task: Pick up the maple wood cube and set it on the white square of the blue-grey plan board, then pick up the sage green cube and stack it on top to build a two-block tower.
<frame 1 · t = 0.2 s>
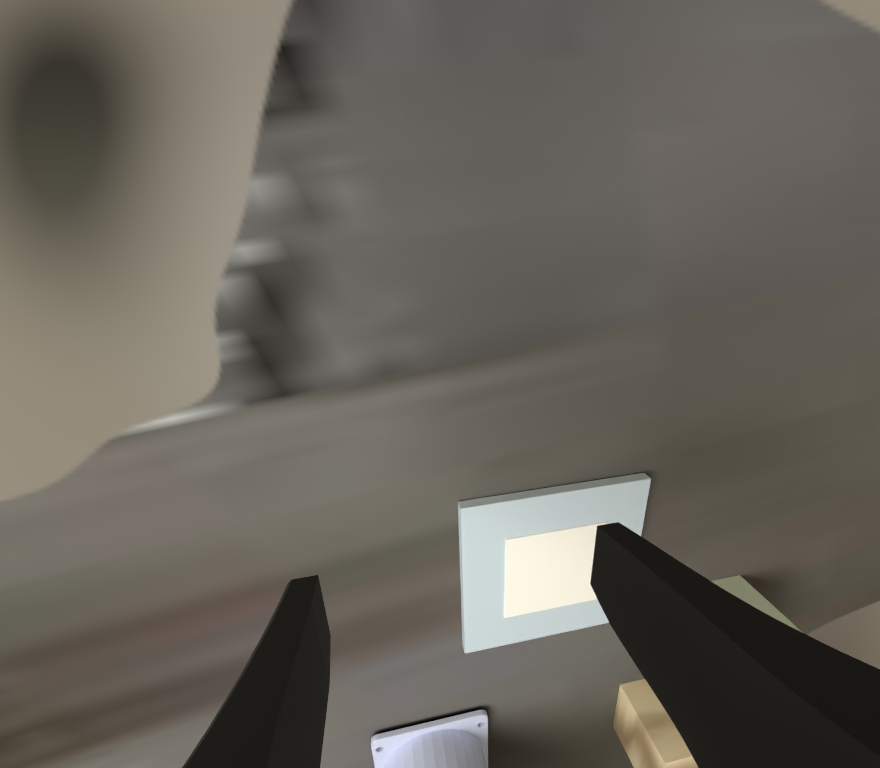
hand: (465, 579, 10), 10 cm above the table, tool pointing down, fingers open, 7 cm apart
maple block: (644, 697, 32), on the table
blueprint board: (549, 562, 25), on the table
sage block: (700, 606, 29), on the table
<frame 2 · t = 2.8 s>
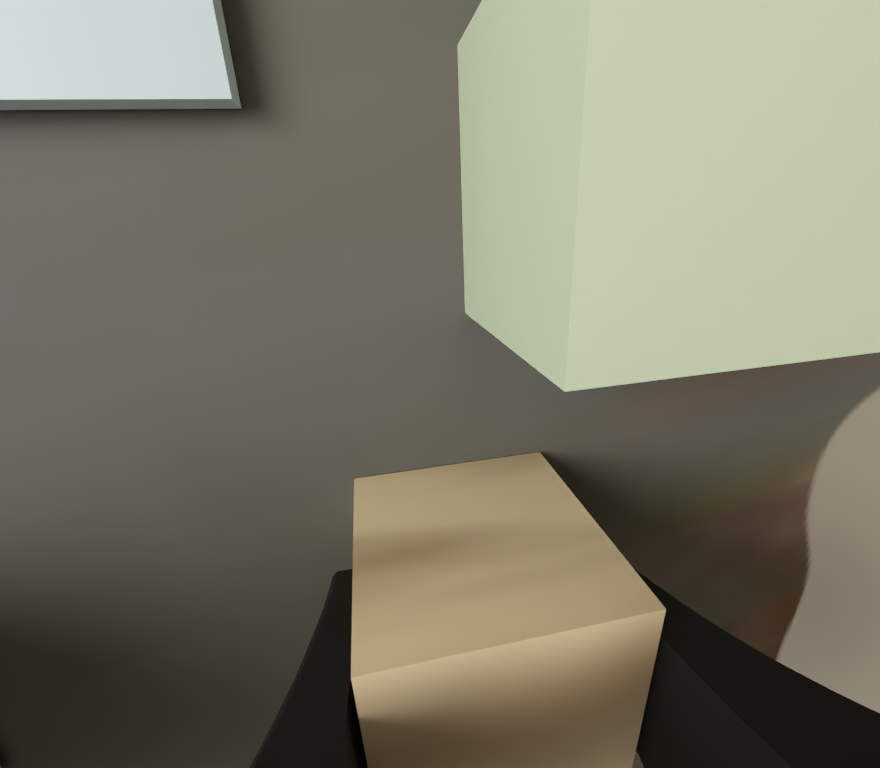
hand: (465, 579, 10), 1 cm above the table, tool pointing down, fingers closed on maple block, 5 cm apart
maple block: (453, 539, 12), on the table, touching gripper
sage block: (572, 188, 9), on the table
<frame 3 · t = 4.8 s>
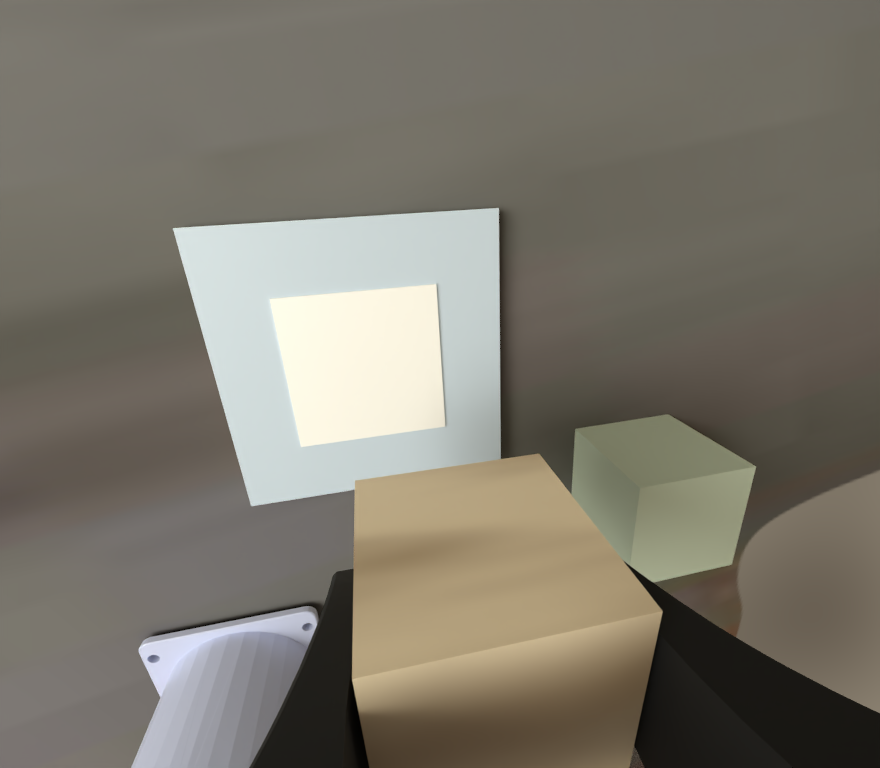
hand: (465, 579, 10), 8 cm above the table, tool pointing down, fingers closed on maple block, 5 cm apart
maple block: (453, 540, 12), point 7 cm above the table, touching gripper
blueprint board: (365, 363, 17), on the table
sage block: (617, 464, 21), on the table
when the fingers open (3 cm above the table, at t = 6.7 s): maple block stays where it is, resting on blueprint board.
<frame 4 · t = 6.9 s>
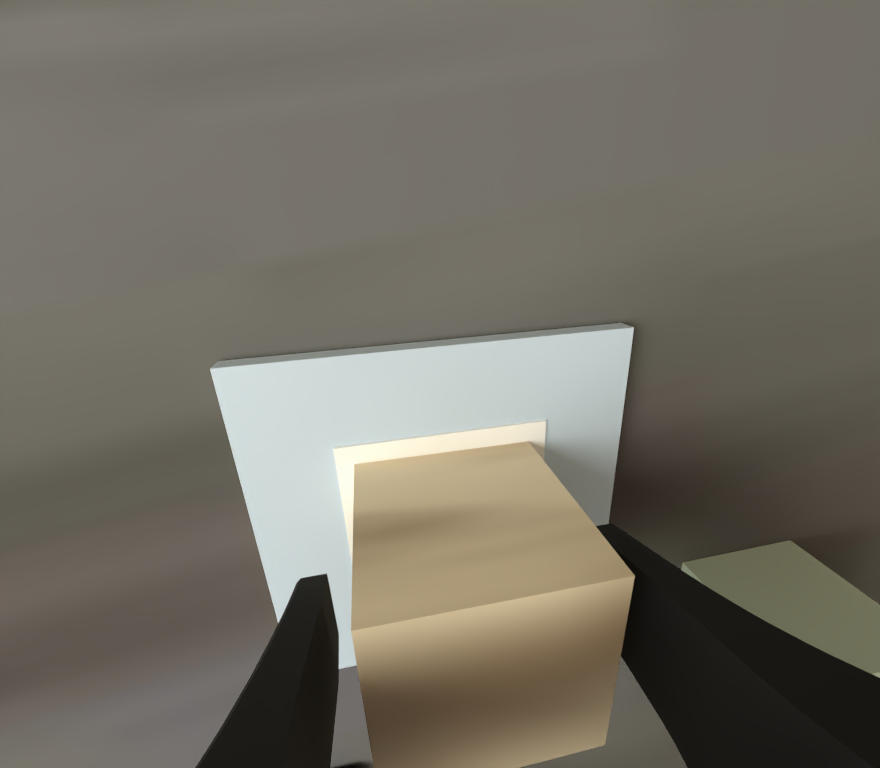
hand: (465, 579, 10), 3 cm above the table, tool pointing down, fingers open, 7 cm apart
maple block: (447, 523, 12), point 1 cm above the table, touching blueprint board
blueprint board: (443, 507, 13), on the table
sage block: (723, 594, 18), on the table
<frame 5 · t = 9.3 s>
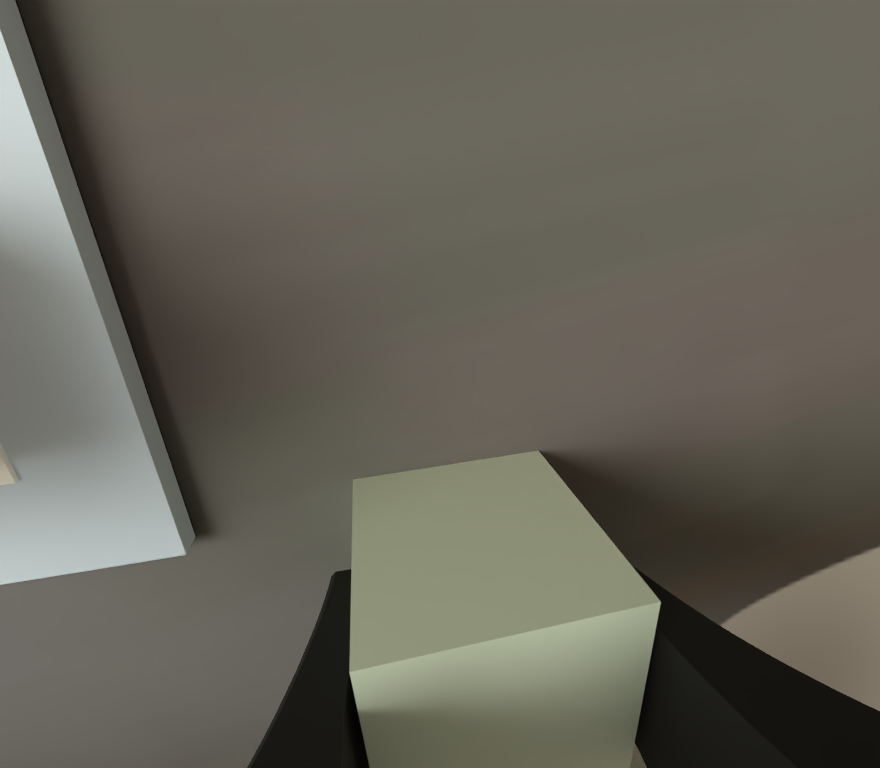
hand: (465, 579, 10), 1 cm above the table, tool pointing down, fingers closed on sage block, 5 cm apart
sage block: (453, 537, 12), on the table, touching gripper
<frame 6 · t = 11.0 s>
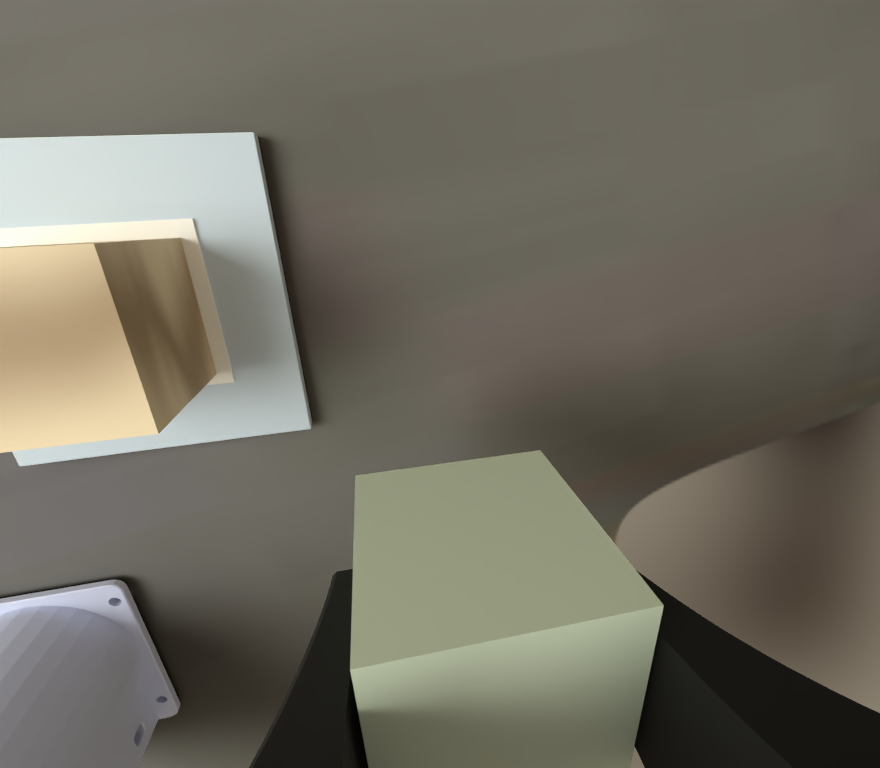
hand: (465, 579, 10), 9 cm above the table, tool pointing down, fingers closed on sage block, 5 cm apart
maple block: (124, 315, 15), point 1 cm above the table, touching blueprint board
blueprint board: (135, 310, 15), on the table
sage block: (454, 537, 12), point 8 cm above the table, touching gripper
when the fingers open (8 cm above the table, at t = 12.5 s): sage block stays where it is, resting on maple block.
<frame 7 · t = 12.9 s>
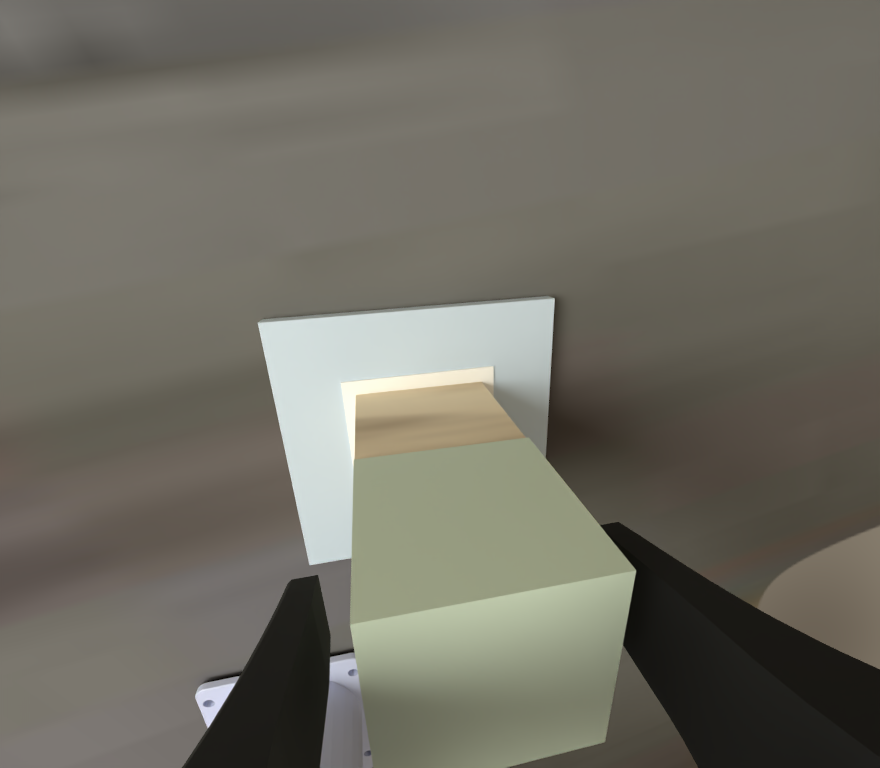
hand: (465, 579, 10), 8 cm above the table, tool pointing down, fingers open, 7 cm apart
maple block: (423, 443, 17), point 1 cm above the table, touching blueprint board, sage block
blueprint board: (421, 434, 18), on the table
sage block: (446, 520, 12), point 6 cm above the table, touching maple block
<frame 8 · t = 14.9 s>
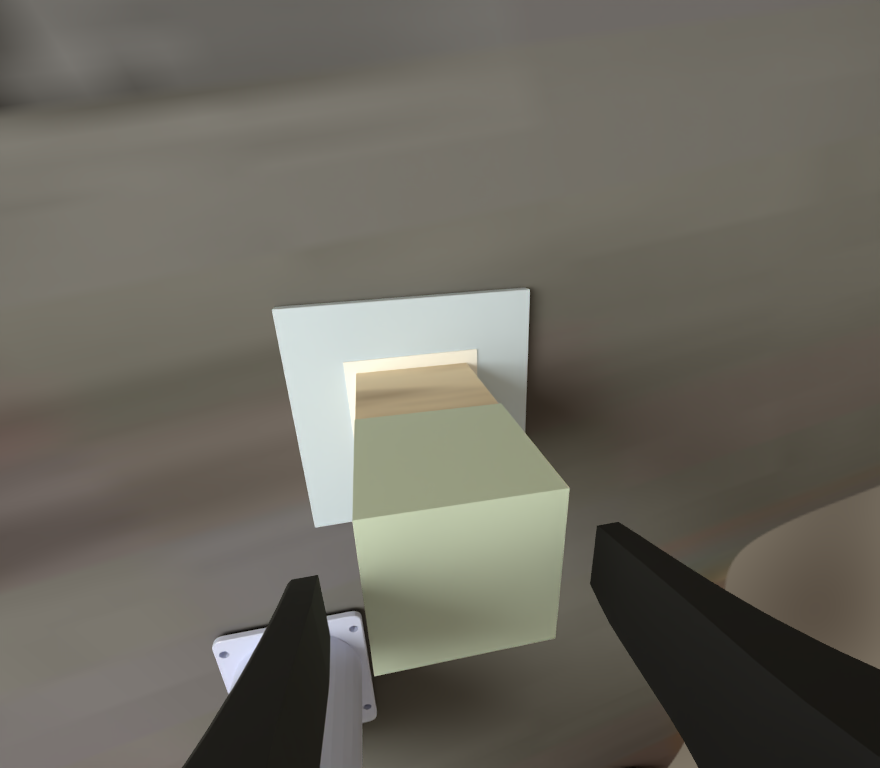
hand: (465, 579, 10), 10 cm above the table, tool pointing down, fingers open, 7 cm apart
maple block: (415, 417, 19), point 1 cm above the table, touching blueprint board, sage block
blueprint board: (414, 410, 20), on the table
sage block: (433, 474, 15), point 6 cm above the table, touching maple block
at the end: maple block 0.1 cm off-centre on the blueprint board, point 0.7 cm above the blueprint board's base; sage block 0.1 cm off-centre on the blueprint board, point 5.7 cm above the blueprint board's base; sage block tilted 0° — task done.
